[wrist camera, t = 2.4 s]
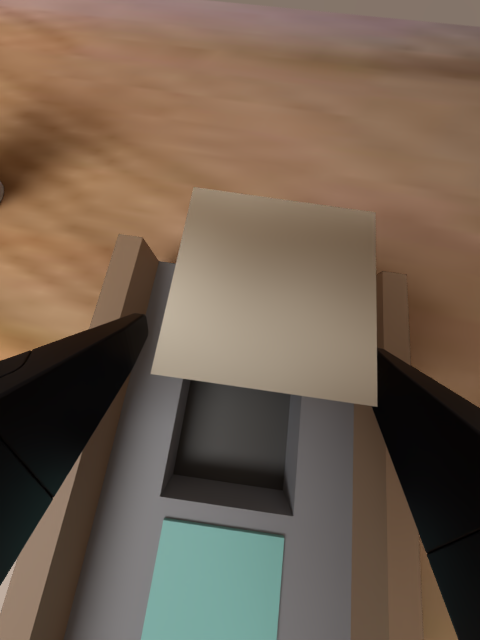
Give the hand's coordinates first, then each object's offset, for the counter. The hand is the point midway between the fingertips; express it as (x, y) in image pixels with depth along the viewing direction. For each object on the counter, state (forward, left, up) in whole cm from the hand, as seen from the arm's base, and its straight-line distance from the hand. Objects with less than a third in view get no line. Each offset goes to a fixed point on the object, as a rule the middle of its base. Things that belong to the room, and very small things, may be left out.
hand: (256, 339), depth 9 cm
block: (0, +1, -6) cm, 6 cm away
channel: (-3, -6, -9) cm, 11 cm away
